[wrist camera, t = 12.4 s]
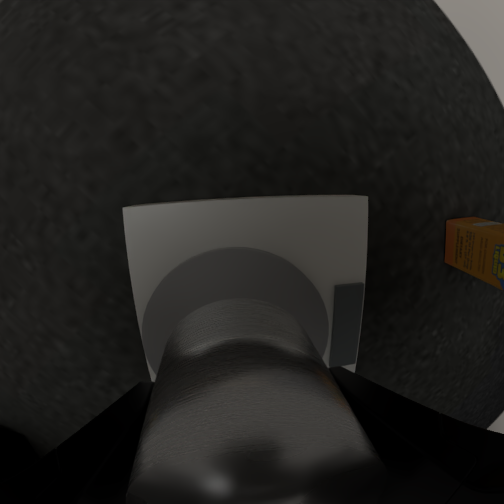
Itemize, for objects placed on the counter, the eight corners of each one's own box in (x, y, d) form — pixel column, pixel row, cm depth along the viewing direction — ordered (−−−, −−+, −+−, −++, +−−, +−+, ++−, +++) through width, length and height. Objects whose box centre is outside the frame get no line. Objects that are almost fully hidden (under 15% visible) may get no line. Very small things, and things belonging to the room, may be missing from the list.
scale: (337, 396, 19) (350, 418, 17) (169, 412, 18) (165, 437, 16) (351, 194, 16) (373, 197, 14) (134, 205, 15) (118, 208, 12)
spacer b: (316, 291, 8) (421, 412, 3) (308, 411, 9) (357, 532, 4) (151, 302, 7) (81, 444, 3) (177, 422, 8) (164, 552, 4)
